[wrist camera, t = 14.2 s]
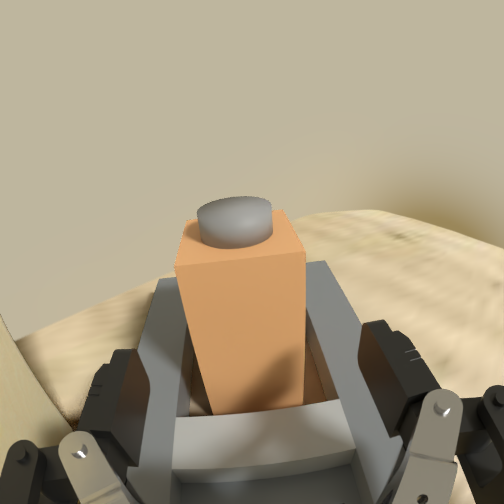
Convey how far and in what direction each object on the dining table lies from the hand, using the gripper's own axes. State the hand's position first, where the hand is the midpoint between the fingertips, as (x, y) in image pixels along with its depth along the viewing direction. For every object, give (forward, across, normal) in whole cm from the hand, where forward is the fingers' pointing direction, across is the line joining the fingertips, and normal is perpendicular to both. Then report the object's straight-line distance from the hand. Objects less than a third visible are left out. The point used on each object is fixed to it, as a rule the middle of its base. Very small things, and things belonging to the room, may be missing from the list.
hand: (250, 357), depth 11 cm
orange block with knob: (+5, 0, +8) cm, 9 cm away
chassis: (+5, 0, +8) cm, 9 cm away
